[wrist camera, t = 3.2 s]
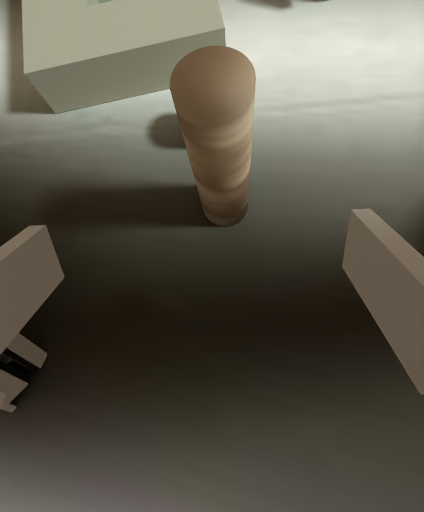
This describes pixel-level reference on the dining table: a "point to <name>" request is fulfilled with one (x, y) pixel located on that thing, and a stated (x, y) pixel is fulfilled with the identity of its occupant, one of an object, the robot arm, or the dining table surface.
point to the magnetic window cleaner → (10, 379)
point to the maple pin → (217, 127)
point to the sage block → (111, 46)
